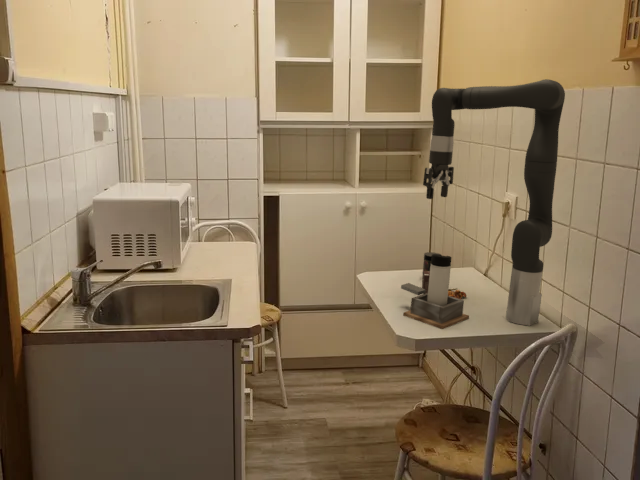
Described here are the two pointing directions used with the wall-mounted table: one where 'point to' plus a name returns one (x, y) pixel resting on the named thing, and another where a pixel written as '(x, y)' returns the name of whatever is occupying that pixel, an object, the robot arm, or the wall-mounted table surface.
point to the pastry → (456, 293)
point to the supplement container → (427, 261)
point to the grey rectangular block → (413, 289)
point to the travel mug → (439, 279)
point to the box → (425, 280)
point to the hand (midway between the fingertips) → (436, 197)
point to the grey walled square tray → (436, 311)
